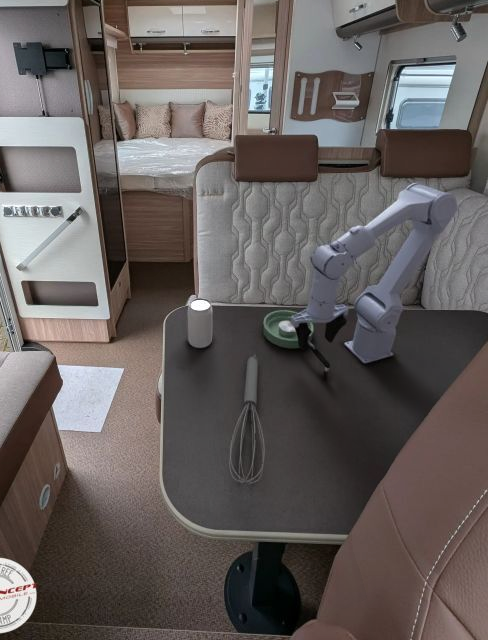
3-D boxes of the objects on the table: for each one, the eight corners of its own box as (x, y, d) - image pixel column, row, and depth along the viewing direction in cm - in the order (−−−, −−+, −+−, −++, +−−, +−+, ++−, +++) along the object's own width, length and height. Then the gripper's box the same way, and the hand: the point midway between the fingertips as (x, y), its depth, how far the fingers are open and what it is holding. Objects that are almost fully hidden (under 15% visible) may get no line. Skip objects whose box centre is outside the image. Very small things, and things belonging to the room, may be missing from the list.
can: (187, 333, 101) (187, 297, 95) (211, 332, 101) (211, 296, 96) (188, 349, 95) (187, 311, 90) (213, 348, 96) (213, 310, 90)
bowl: (295, 315, 109) (296, 306, 108) (322, 343, 98) (323, 334, 96) (254, 324, 105) (255, 315, 104) (277, 355, 94) (278, 345, 92)
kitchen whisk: (264, 359, 92) (266, 340, 89) (262, 497, 62) (264, 474, 59) (240, 357, 93) (241, 337, 90) (226, 492, 63) (227, 469, 60)
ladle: (275, 328, 102) (276, 315, 100) (289, 324, 104) (291, 311, 102) (317, 381, 86) (320, 367, 83) (334, 376, 87) (338, 362, 85)
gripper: (338, 282, 88) (330, 327, 94) (286, 293, 84) (280, 339, 90) (358, 297, 82) (347, 344, 88) (303, 309, 78) (296, 358, 84)
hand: (315, 343), depth 89 cm, fingers open, 7 cm apart
